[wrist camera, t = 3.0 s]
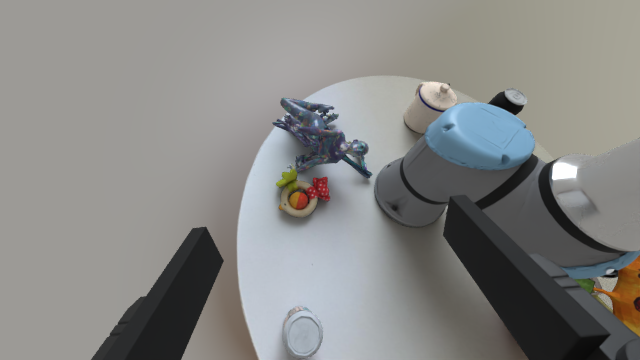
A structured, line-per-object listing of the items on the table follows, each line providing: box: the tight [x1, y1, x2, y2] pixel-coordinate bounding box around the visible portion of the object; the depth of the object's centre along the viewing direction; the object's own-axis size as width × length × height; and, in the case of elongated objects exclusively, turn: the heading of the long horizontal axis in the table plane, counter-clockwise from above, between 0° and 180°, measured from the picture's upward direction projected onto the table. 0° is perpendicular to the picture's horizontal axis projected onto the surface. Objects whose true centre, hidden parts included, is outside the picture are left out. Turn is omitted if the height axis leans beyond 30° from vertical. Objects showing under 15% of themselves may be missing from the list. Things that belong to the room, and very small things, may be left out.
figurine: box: [273, 98, 373, 178], centre depth 45 cm, size 20×18×18 cm
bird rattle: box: [276, 169, 330, 217], centre depth 45 cm, size 6×11×9 cm
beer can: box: [283, 306, 323, 359], centre depth 31 cm, size 5×5×12 cm
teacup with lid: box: [404, 82, 457, 133], centre depth 56 cm, size 12×9×12 cm
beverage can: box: [488, 88, 527, 115], centre depth 57 cm, size 6×6×12 cm
